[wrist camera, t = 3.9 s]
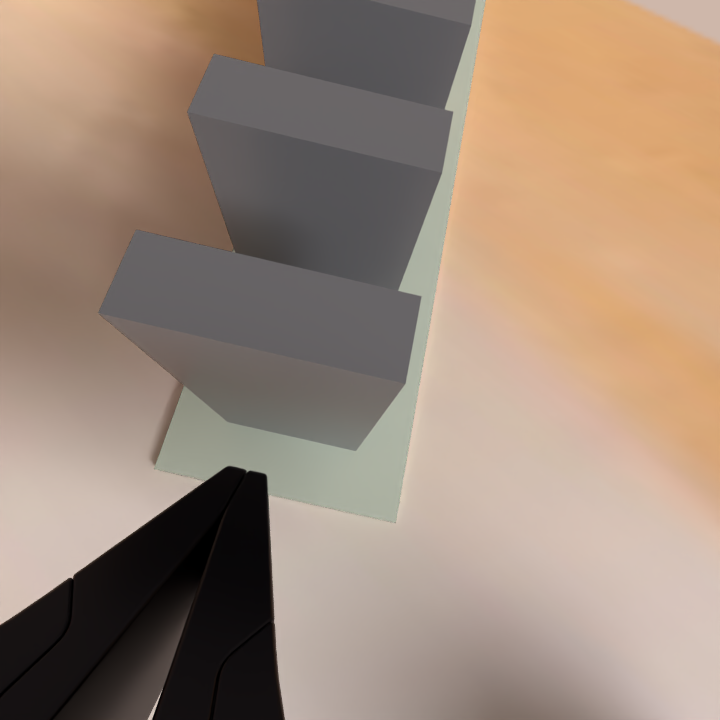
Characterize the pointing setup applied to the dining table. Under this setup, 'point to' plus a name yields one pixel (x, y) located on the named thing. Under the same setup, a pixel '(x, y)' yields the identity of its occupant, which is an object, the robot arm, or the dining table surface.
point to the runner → (393, 430)
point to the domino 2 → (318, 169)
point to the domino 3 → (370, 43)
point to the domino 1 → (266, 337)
